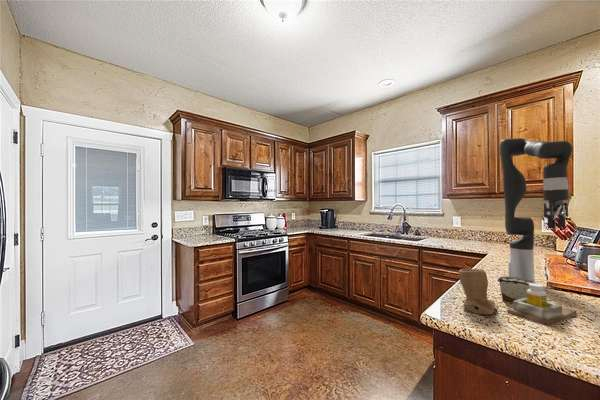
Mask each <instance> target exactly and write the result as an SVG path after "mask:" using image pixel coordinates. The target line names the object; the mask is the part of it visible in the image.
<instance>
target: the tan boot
mask: <svg viewBox="0 0 600 400" xmlns="http://www.w3.org/2000/svg"><path fill="white" fill-rule="evenodd" d="M458 277H459V282H460V283H461V286H462V289H463V291H464V294H465V299H464V300H463V304H462V307H463V308H464V309H466V310H468V311H470V312H472V313H475V314H478V315H492V314H493V313H494V312H495V309H496V302H495V301H494V300H491V299H488V296H487V295H488V294H487V293H488V286H489V282H488V281H489V280H488V276H487V272H486V271H485V270H484V269H482V268H462V269H459V270H458Z"/></svg>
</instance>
